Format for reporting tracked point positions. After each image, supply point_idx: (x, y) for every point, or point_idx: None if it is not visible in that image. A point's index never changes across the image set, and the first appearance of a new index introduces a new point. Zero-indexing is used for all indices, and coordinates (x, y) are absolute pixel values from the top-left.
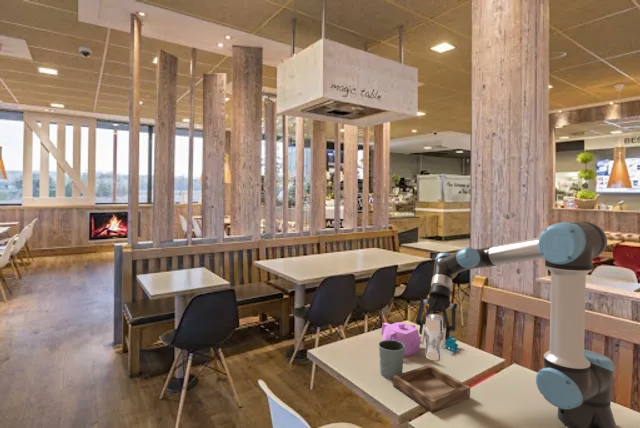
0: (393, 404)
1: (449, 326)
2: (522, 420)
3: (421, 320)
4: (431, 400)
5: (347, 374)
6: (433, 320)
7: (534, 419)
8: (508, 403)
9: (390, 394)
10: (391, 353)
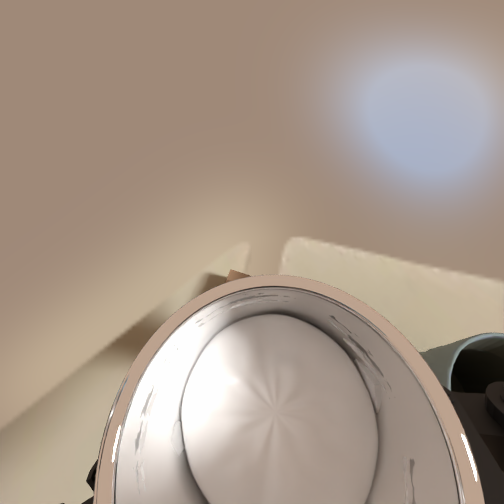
0: (314, 253)
1: (92, 472)
2: (49, 399)
3: (471, 422)
4: (234, 272)
5: (501, 291)
6: (238, 281)
7: (18, 429)
8: (70, 479)
9: (345, 283)
10: (456, 343)
